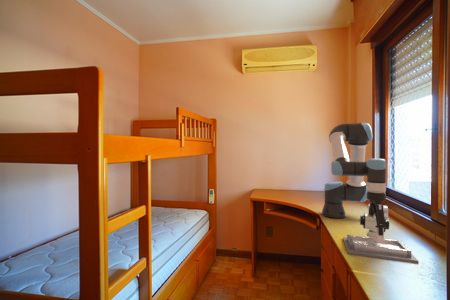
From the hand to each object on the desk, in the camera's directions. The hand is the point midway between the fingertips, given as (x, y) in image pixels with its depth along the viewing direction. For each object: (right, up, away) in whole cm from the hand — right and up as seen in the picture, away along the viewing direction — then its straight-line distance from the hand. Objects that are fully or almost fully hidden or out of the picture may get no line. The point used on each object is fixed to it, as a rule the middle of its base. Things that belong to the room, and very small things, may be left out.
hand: (376, 236), depth 111 cm
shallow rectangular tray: (0, -5, 0) cm, 5 cm away
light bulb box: (+28, -6, +42) cm, 51 cm away
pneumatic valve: (+1, -2, +4) cm, 4 cm away
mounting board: (0, -6, 0) cm, 6 cm away
